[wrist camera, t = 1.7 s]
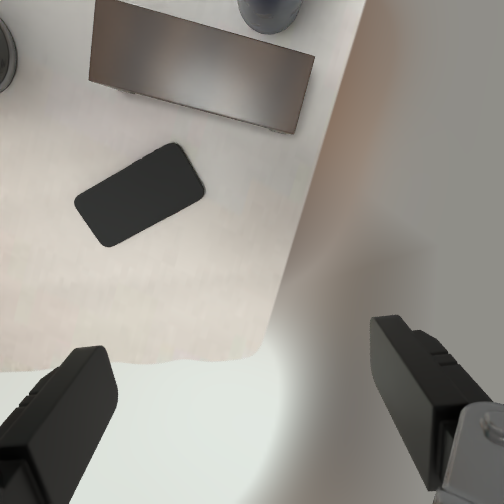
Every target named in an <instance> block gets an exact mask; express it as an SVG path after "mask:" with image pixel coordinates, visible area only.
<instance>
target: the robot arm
mask: <svg viewBox="0 0 504 504" xmlns="http://www.w3.org/2000/svg"><path fill="white" fill-rule="evenodd" d="M15 69H16V50H15V46H14V42H13V39H12V37H11V35H10V33H9V31H8V29H7V27H6V26H5V24H4V23H3V21H2V20H1V19H0V92H1V91H3V90H4V89H5V88H6V87H7V86H8V85H9V83H10V82H11V80H12V78H13V76H14V73H15ZM370 362H371V371H372V375H373V379H374V382H375V384H376V387H377V388H378V390H379V393H380V395H381V397H382V399H383V401H384V403H385V405H386V407H387V409H388V411H389V413H390V415H391V417H392V419H393V421H394V423H395V425H396V427H397V429H398V431H399V433H400V435H401V437H402V439H403V441H404V443H405V445H406V447H407V449H408V451H409V453H410V455H411V457H412V459H413V461H414V463H415V465H416V468H417V469H418V471H419V474H420V476H421V478H422V480H423V482H424V484H425V486H426V488H427V490H428V491H436V494H435V497H434V501H433V504H504V404H500V403H494V402H493V401H492V400H491V399H490V398H489V397H488V395H487V394H486V393H485V392H484V391H483V390H482V389H481V388H480V387H479V385H478V384H477V383H476V382H475V381H474V380H473V379H472V378H471V377H470V375H469V374H468V373H467V372H466V371H465V370H464V369H463V368H462V367H461V365H460V364H457V361H456V360H455V359H454V358H453V357H452V355H451V354H448V351H447V350H446V349H445V348H444V347H443V346H442V344H441V343H440V342H439V341H438V340H437V339H436V338H434V337H432V336H430V335H428V334H427V333H425V332H423V331H421V330H415V331H412V330H411V329H410V328H409V327H408V326H407V324H406V323H405V322H404V321H403V320H402V318H401V317H400V316H399V315H390V316H381V317H372V318H371V320H370ZM117 402H118V388H117V385H116V381H115V378H114V375H113V371H112V368H111V364H110V361H109V358H108V354H107V351H106V349H105V348H104V347H103V346H91V347H82V348H76V349H74V350H73V351H72V352H71V353H70V355H69V356H68V357H67V358H66V359H65V361H64V362H63V363H62V364H61V365H60V367H57V368H55V369H54V370H53V371H51V372H50V373H49V374H47V375H46V376H45V377H43V378H42V379H41V380H40V381H39V382H38V383H37V384H36V385H35V387H34V388H33V389H32V390H31V391H30V393H29V396H26V397H25V398H24V399H23V401H22V402H21V403H20V404H19V407H18V408H16V409H15V410H14V411H13V412H12V413H11V414H10V416H9V417H8V418H7V419H6V420H5V421H4V423H3V424H2V425H1V426H0V504H69V502H70V500H71V498H72V496H73V494H74V492H75V490H76V488H77V486H78V484H79V481H80V480H81V478H82V476H83V474H84V472H85V470H86V468H87V466H88V464H89V462H90V460H91V458H92V455H93V454H94V452H95V450H96V448H97V445H98V444H99V441H100V440H101V437H102V435H103V433H104V431H105V429H106V427H107V425H108V423H109V421H110V419H111V417H112V415H113V413H114V411H115V409H116V406H117Z"/></svg>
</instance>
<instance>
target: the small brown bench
mask: <svg viewBox="0 0 504 504" xmlns="http://www.w3.org/2000/svg"><path fill="white" fill-rule="evenodd" d="M314 59H315V56H312V55H309V54H305V53H302V52H298V51H295V50H291V49H288V48H284V47H280V46H277V45H273V44H270V43H266V42H263V41H259V40H256V39H252V38H249V37H245V36H242V35H238V34H234V33H231V32H227V31H224V30H220V29H217V28H213V27H210V26H206V25H203V24H199V23H195V22H192V21H188V20H185V19H181V18H178V17H174V16H171V15H167V14H164V13H160V12H157V11H153V10H149V9H146V8H142V7H139V6H135V5H132V4H128V3H125V2H121V1H118V0H96V2H95V13H94V24H93V35H92V46H91V57H90V69H89V81H92V82H95V83H99V84H102V85H105V86H108V87H111V88H114V89H117V90H120V91H124V92H128V93H131V94H135V93H137V94H141V95H144V96H148V97H152V98H156V99H160V100H163V101H167V102H171V103H175V104H179V105H182V106H186V107H190V108H194V109H198V110H201V111H205V112H209V113H213V114H216V115H220V116H224V117H228V118H232V119H235V120H239V121H243V122H247V123H251V124H254V125H258V126H262V127H266V128H270V129H269V130H272V131H276V132H279V133H283V134H294V133H295V129H296V125H297V122H298V118H299V114H300V111H301V107H302V103H303V100H304V96H305V92H306V89H307V85H308V81H309V78H310V74H311V70H312V67H313V63H314Z"/></svg>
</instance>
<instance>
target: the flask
mask: <svg viewBox="0 0 504 504" xmlns="http://www.w3.org/2000/svg"><path fill="white" fill-rule="evenodd" d="M301 3H302V0H238V6H239V10H240V13H241V15H242V17H243V19H244V20H245V22H246V23H247V24H248V25H249V26H250V27H251V28H252V29H254V30H255V31H257V32H260V33H263V34H275V33H278V32H281V31H282V30H284V29H286V28H287V27H288V26H289V25H290V24H291V23H292V22H293V20H294V19H295V17H296V16H297V13H298V11H299V8H300V5H301Z"/></svg>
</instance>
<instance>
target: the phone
mask: <svg viewBox="0 0 504 504" xmlns="http://www.w3.org/2000/svg"><path fill="white" fill-rule="evenodd" d="M203 195H204V188H203V186H202V184H201V182H200V180H199V178H198V177H197V175H196V173H195V171H194V170H193V168H192V166H191V164H190V163H189V161H188V159H187V157H186V156H185V154H184V152H183V150H182V149H181V147H180V146H179V145H177V144H175V143H170V144H167V145H165V146H163V147H161V148H159V149H157V150H155V151H154V152H152V153H151V154H148V155H146V156H145V157H143V158H142V159H139V160H138V161H136V162H134V163H132V165H130V166H128V167H126V168H125V169H123V170H121V171H119V172H118V173H116V174H114V175H112V176H111V177H109V178H107V179H106V180H104V181H102V182H100V183H99V184H97V185H95V186H93V187H92V188H90V189H88V190H86V191H85V192H83V193H81V194H80V195H78V196H77V197H76V198H75V200H74V204H75V207H76V209H77V210H78V212H79V213H80V215H81V216H82V218H83V219H84V221H85V222H86V223H87V225H88V226H89V228H90V229H91V231H92V232H93V233H94V235H95V236H96V238H97V239H98V241H99V242H100V243H101V244H102V245H103V246H105V247H112V246H115V245H116V244H118V243H120V242H122V241H124V240H126V239H128V238H130V237H131V236H133V235H135V234H137V233H139V232H141V231H143V230H144V229H146V228H148V227H150V226H152V225H154V224H156V223H157V222H159V221H161V220H163V219H165V218H167V217H169V216H171V215H173V214H175V213H177V212H179V211H180V210H182V209H184V208H185V207H187V206H189V205H191V204H193V203H195V202H197V201H198V200H200V199H201V198H202V197H203Z"/></svg>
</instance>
